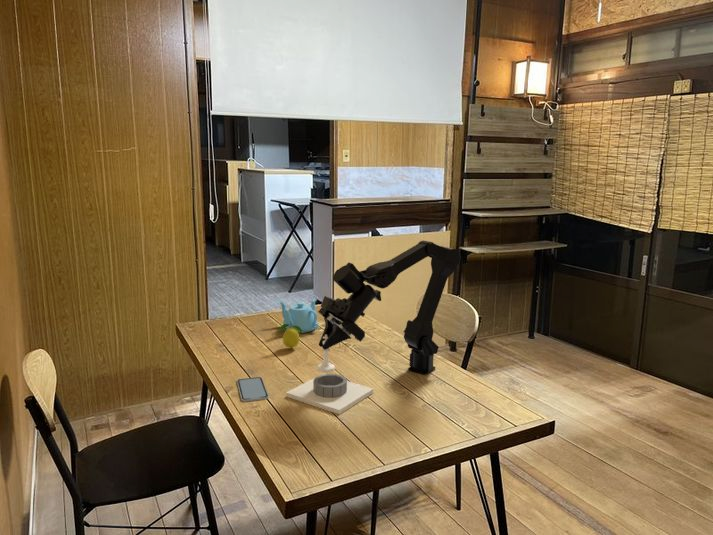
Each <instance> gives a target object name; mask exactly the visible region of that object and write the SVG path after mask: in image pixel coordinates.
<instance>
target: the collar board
mask: <svg viewBox="0 0 713 535" xmlns="http://www.w3.org/2000/svg"><path fill="white" fill-rule="evenodd" d="M285 394H286V395H285V396H286V397H287V398H289V399H293V400H295V401H298V402H301V403H305V404H307V405H310V406H314V407H316V408H319V409H323V410H325V411H328V412H331V413H334V414H337V415H341V414H343V413H344V412H345V411H347V410H349V409H350V408H352V407H354V406H355V405H357V404H358V403H360V402H361V401H363V400H365V399H367V398H368V397H369V396H371V395H372V394H374V388H372V387H369V386H365V385H362V384H358V383H355V382H351V381H348V379H347V378H346V377H345V376H344V375H341V374H338V373H337V374H336V373H325V374H324V373H322V374H320V375H318V376H316V377H314V378H312V379H310V380H308V381H306V382H304V383H302V384H299V385H298V386H297V387H294V388H292V389H290V390H288V391H286V393H285Z"/></svg>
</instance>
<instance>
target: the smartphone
mask: <svg viewBox="0 0 713 535" xmlns="http://www.w3.org/2000/svg"><path fill="white" fill-rule="evenodd" d="M236 384H237V388H238V391H239V395H240V401H241V402H243V403H248V402H255V401H261V400H268V399H269V398H270V397H269V392H268V391H267V388H266V385H265V382H264V379H263V377H260V376H256V377H245V378H239V379H236Z"/></svg>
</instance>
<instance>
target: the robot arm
mask: <svg viewBox="0 0 713 535" xmlns="http://www.w3.org/2000/svg"><path fill="white" fill-rule="evenodd" d="M461 257H462V256H461V254H460V251H459V250H458V249H456V248H452V247H448V246H444V245H438V244H437V243H435V242H433V241H428V240H423V239H422V240H420V241H419V242H418V243H417V244H415V245H413V246H412V247H410V248H408V249H406V250H405V251H403V252H401V253H400V254H398V255H396V256H394V257H392V258H391V259H389V260H386V261H380V262H377V263H374V264H371V265H369V266H367V268H366V269H364V270H358V269H357V267H356V266H355V265H354V263H352V262H347V263H346V264H345V265H343V266H341V267H340V268H338V269H337V270H336V271H334V274H333V276H332V280H333V281H334V283H335V284H337V285H338V287H339V288H341V289H342V290H343V291H344V292H345V293H346V294H350V295H349V296H348V298H346V297H344V298H343V297H342V299H341V298H338V297H337V298H336V299H335V298H332V297H330V296H327V295H324V296H323V299H322V302H321V304H320V307H321V308H320V309H319V310H318V311H317V312H318V314H320V315H321V316H322V317H323V320H324V324H325V325H324V330H323V333H322V334H321V338H320V340H319V342H318V346H319V347H320V348H322V349H324V350H326V349H328V348H329V349H331V347H333V346H335V345H338V344H340V343H341V342H342V343H343V342H344V341H346V340H351V339H352V336H353V337H354V339H355V340H356V341H358V342H360V343H361V342H362V341H363V340H364V338H366V331H364V329H362V328H361V327H360V326H359V325H358V324H357V323H356V322H357V320H358V319H359V318H360V317H364V316H365V315H366V313H365V311H366V309H367V308H368V307H369V305H370V304H371V303H372V302H373V301H374V300H376V301H379V302H382V297H381V296H382V295H381V294H382V293H381V291H380V290H378V289H386V288H388V287H389V286H390V285H391V284H393V283H394V282H395V281H396V279H397V277H398V276H399V275H400V274H401V273H402V272H404V271H405V270H407V269H409V268H412V267H413V266H414V265H416V264H417V263H419V262H421V261H422V260H424V259H426V258H430V259H431V260H430V266H431V276H430V278H429V280H428V281H429V282H428V283H427V287H426V289H425V291H424V292H425V293H424V295H423V297H422V300H421V304H420V306H419V309H418V312H417V313H416V314H417V315H416V317H415V318H414V319H413V320H410V319H408V320H407V322H406V326H405V328H404V330H403V331H402V332H403V333H404V335H403V340H404V342H405V343H406V344H407V347H408V348H409V349H411V350H410V353H409V363H408V364H409V367H408V368H407V370H408V371H410V372H414V373H418V374H423V375H428V374H429V373H431V372H433V371H434V370H436V366H434V356H435V354H438V351H439V349H440V348H439V346H438V344H437V343H436V342H434V340H433V337H434V336H433V335H434V328H433V327H434V326H433V321H434V317H435V314H436V312H437V309H438V306H439V305H440V304H439V303H440V301H441V298H442V295H443V292H444V289H445V286H446V283H447V281H448V279H449V277H450V276H451V275H453V273H455V271H456V270H457V269H458V267H459V264H460V263H461ZM366 283H367V284H366ZM373 286H374V287H376V288H378V289H375V288H374V287H373ZM325 334H326V335H327V337H328V338H327V340H326V341H325V343H324V345H323V343H322V341H324V340H325V339H324V338H323V336H325ZM351 335H352V336H351Z"/></svg>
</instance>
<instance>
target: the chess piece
mask: <svg viewBox="0 0 713 535" xmlns="http://www.w3.org/2000/svg"><path fill="white" fill-rule="evenodd" d="M323 338H324V339H325V340H324V341H322V343H323V345H324V343H325V341H326V340H327V338H328V337H327V335H326V334H325V336H323ZM330 351H331V348H328V349H326V350H324V349H323V348H322V352H323V362H322V363H320V364H318V365H317V368H316V370H317V371H318V372H320V373H331V372H334V371H335V370H336V367H335V365H334V364H333V363H330V361H329V360H330V358H329V352H330Z"/></svg>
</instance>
